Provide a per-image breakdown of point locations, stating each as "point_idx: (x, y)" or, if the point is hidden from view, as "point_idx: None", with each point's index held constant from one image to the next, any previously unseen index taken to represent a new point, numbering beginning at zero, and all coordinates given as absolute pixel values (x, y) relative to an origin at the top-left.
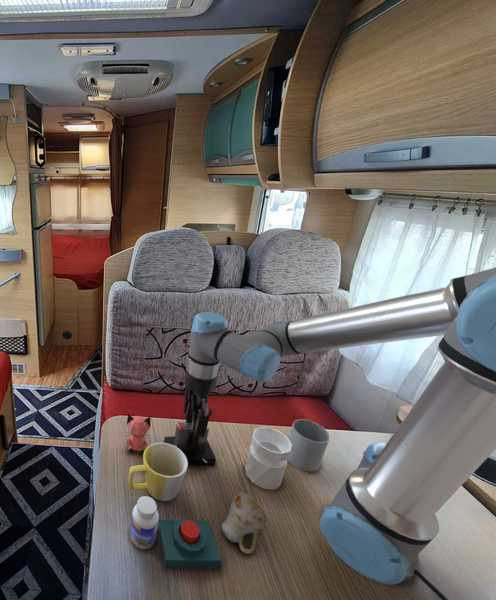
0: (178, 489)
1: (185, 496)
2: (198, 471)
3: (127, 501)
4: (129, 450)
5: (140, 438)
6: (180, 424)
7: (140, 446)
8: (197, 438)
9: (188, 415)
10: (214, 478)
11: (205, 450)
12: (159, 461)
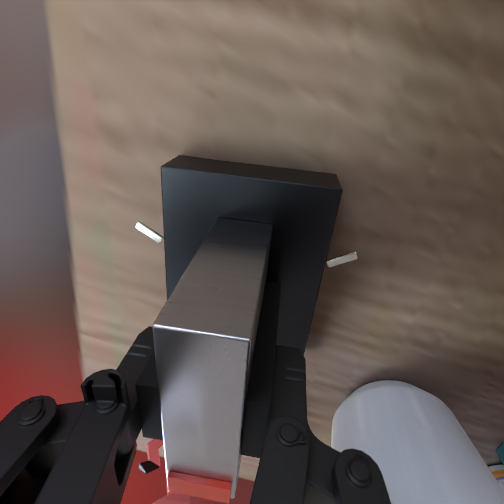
0: (471, 442)
1: (438, 354)
2: (347, 263)
3: None
4: None
5: None
6: (191, 488)
7: None
8: (304, 401)
9: (117, 496)
10: (406, 211)
11: (272, 220)
12: None
